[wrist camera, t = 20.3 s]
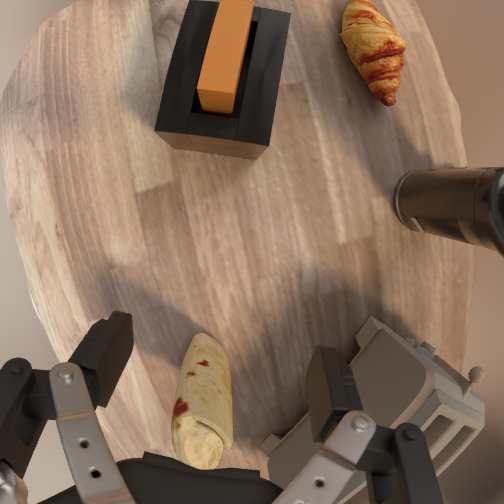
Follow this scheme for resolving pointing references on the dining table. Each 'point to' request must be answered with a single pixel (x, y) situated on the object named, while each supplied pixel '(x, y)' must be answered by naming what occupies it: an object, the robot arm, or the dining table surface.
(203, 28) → the slot toaster
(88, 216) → the dining table surface
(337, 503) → the toaster
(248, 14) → the orange slab
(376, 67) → the croissant
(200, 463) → the food model
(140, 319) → the dining table surface
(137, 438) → the dining table surface
